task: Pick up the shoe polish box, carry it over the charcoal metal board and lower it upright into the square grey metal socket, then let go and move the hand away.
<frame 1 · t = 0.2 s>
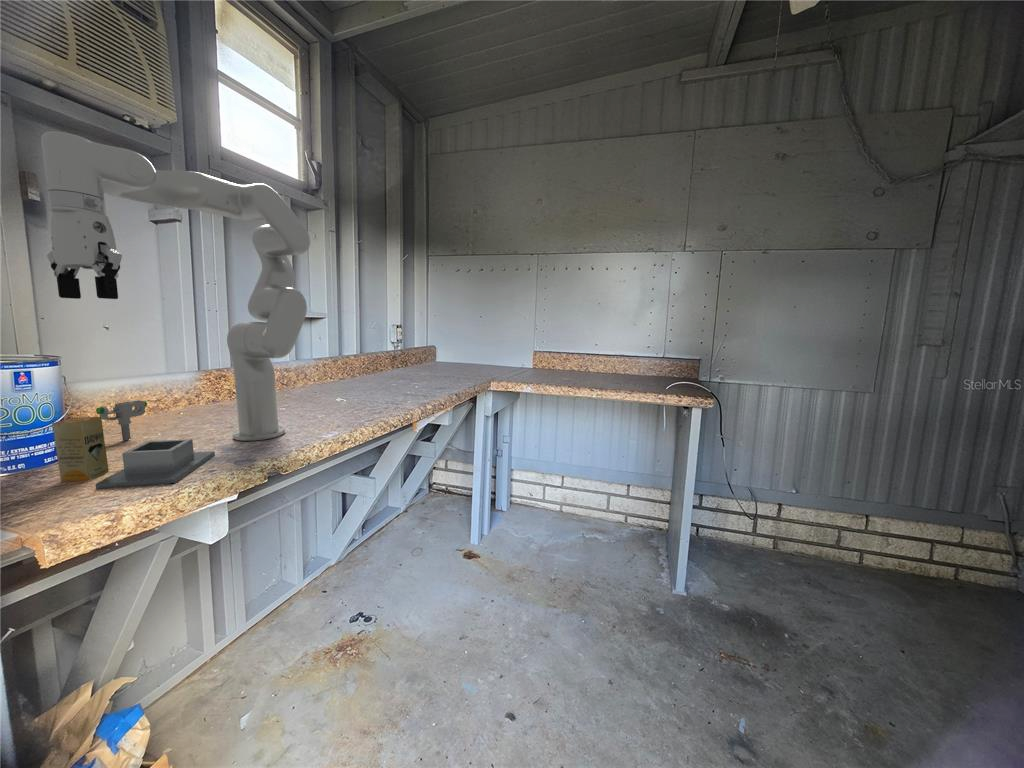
hand: (88, 298, 82), 36 cm above the worktop, tool pointing down, fingers open, 9 cm apart
holder: (162, 470, 90), on the worktop
shoe polish box: (85, 477, 86), on the worktop
mechanical component: (127, 440, 111), on the worktop
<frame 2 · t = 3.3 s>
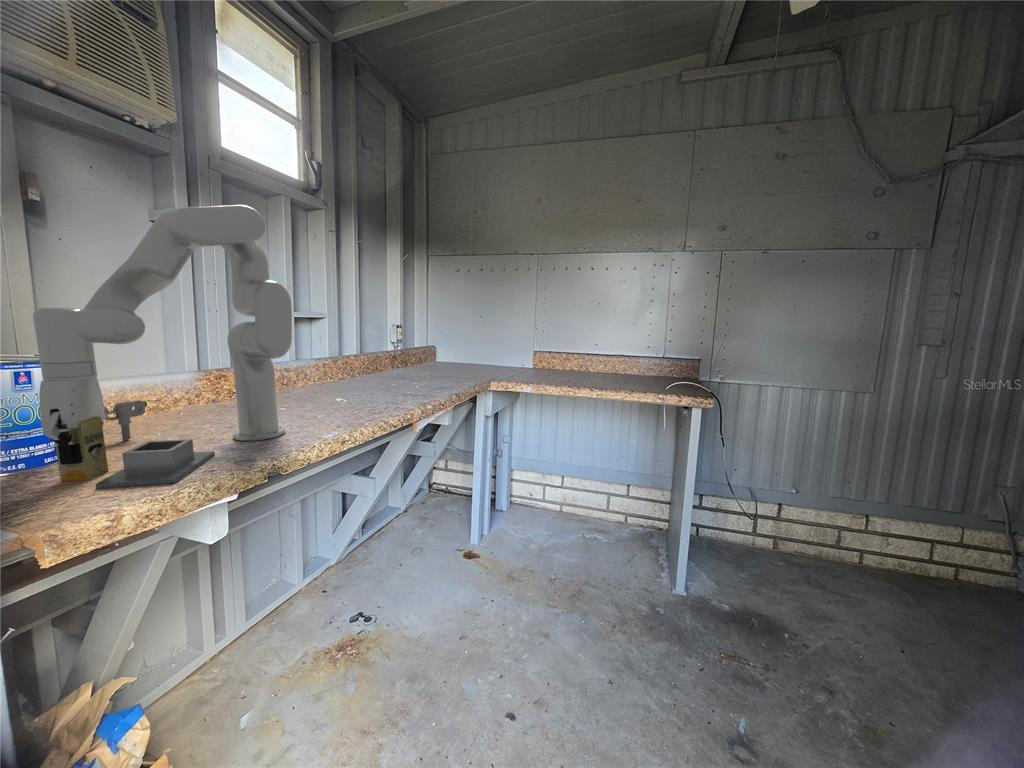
hand: (82, 457, 86), 4 cm above the worktop, tool pointing down, fingers closed on shoe polish box, 5 cm apart
shoe polish box: (85, 477, 86), on the worktop, touching gripper
everything else where it was.
when the fingers open (7 cm above the worktop, at t = 9.8 s): shoe polish box drops 2 cm, resting on holder.
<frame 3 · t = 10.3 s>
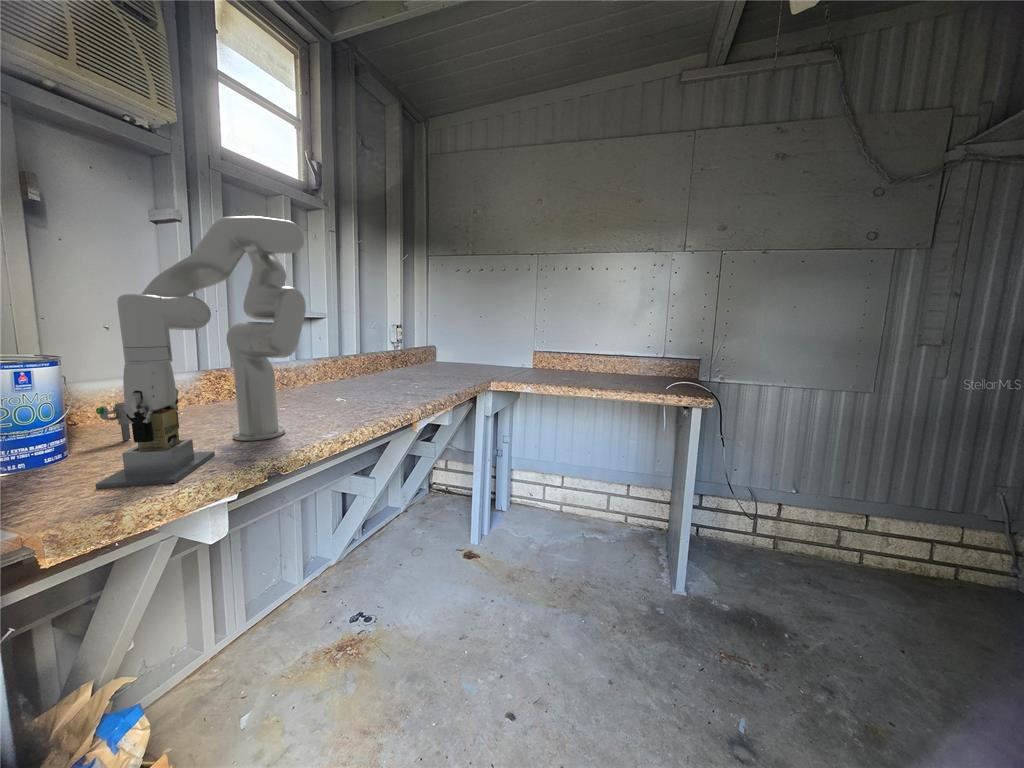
hand: (158, 435, 89), 8 cm above the worktop, tool pointing down, fingers open, 9 cm apart
shoe polish box: (162, 466, 90), point 1 cm above the worktop, touching holder
everything else where it was.
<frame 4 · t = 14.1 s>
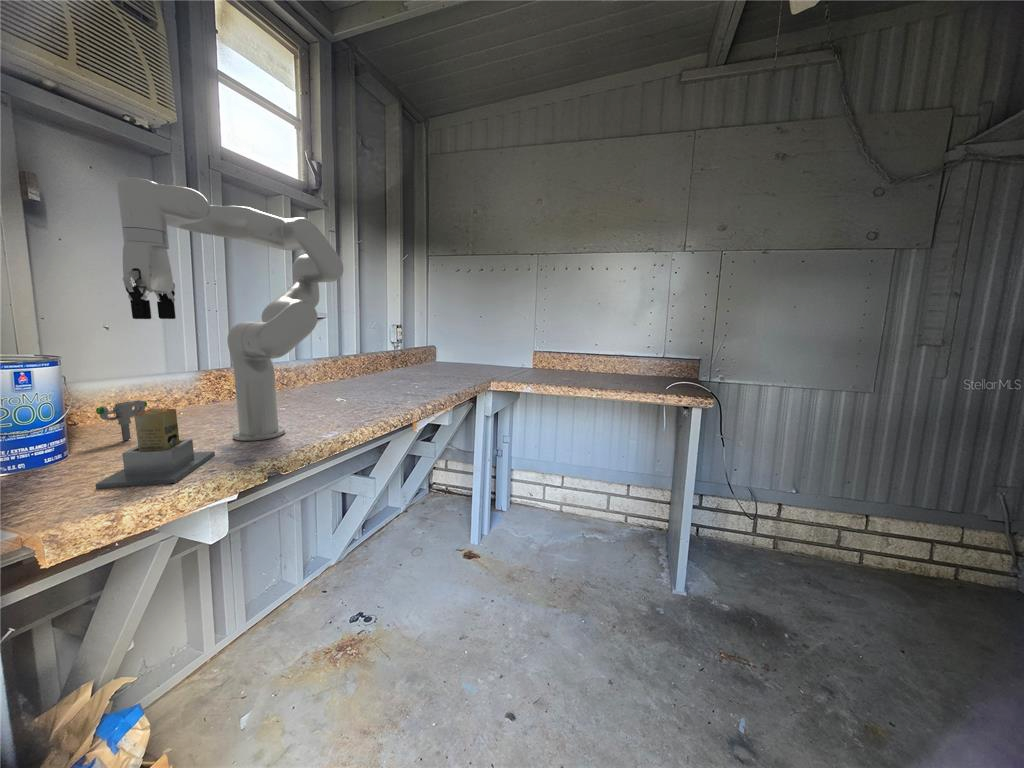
hand: (155, 318, 94), 32 cm above the worktop, tool pointing down, fingers open, 9 cm apart
nothing on the worktop moved.
at the end: shoe polish box 0.2 cm off-centre on the holder, point 0.8 cm above the holder's base; shoe polish box tilted 0°; the gripper is holding nothing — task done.
